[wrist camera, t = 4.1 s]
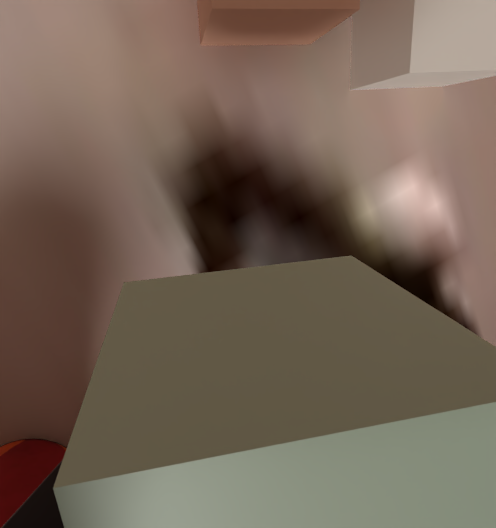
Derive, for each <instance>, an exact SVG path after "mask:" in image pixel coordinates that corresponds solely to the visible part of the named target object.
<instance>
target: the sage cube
mask: <svg viewBox="0 0 496 528" xmlns="http://www.w3.org/2000/svg"><path fill="white" fill-rule="evenodd" d="M53 490H54V494H55V497H56V501H57V504H58V508H59V511H60V515H61V518H62V522H63V525H64V528H496V347H495V346H493V345H492V344H490V343H489V342H487V341H485V340H484V339H482V338H481V337H479V336H477V335H476V334H474V333H473V332H471V331H470V330H468V329H466V328H465V327H463V326H462V325H460V324H459V323H457V322H455V321H454V320H452V319H451V318H449V317H447V316H446V315H444V314H443V313H441V312H440V311H438V310H436V309H435V308H433V307H432V306H430V305H428V304H427V303H425V302H424V301H422V300H421V299H419V298H417V297H416V296H414V295H413V294H411V293H410V292H408V291H406V290H405V289H403V288H402V287H400V286H398V285H397V284H395V283H394V282H392V281H391V280H389V279H387V278H386V277H384V276H383V275H381V274H380V273H378V272H376V271H375V270H373V269H372V268H370V267H368V266H367V265H365V264H364V263H362V262H361V261H359V260H357V259H356V258H354V257H353V256H344V257H336V258H327V259H319V260H310V261H302V262H294V263H285V264H277V265H268V266H260V267H251V268H243V269H234V270H226V271H217V272H209V273H200V274H192V275H183V276H175V277H166V278H158V279H149V280H141V281H132V282H124V284H123V287H122V289H121V292H120V295H119V298H118V301H117V304H116V307H115V310H114V313H113V316H112V319H111V321H110V324H109V327H108V330H107V333H106V336H105V339H104V342H103V345H102V348H101V350H100V353H99V356H98V359H97V362H96V365H95V368H94V371H93V374H92V377H91V379H90V382H89V385H88V388H87V391H86V394H85V397H84V400H83V403H82V406H81V408H80V411H79V414H78V417H77V420H76V423H75V426H74V429H73V432H72V435H71V437H70V440H69V443H68V446H67V449H66V452H65V455H64V458H63V461H62V464H61V466H60V469H59V472H58V475H57V478H56V481H55V484H54V487H53Z"/></svg>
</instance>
